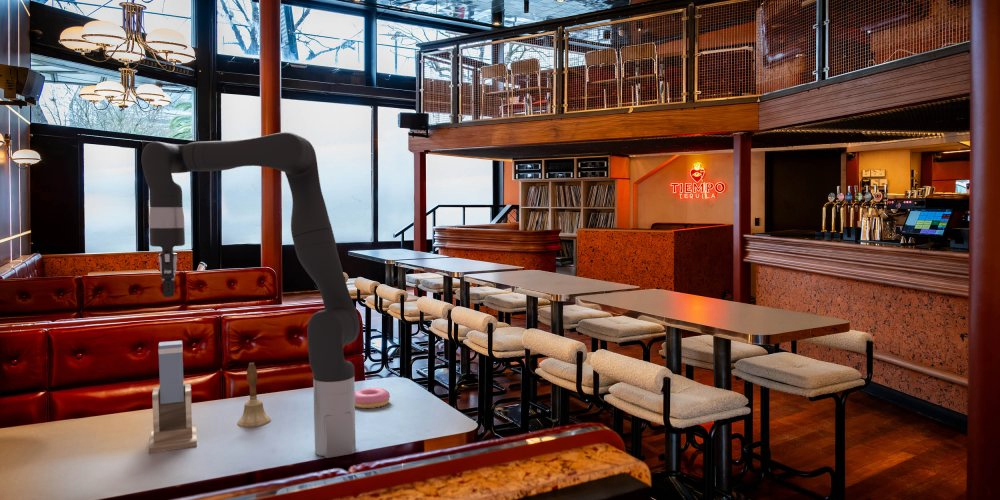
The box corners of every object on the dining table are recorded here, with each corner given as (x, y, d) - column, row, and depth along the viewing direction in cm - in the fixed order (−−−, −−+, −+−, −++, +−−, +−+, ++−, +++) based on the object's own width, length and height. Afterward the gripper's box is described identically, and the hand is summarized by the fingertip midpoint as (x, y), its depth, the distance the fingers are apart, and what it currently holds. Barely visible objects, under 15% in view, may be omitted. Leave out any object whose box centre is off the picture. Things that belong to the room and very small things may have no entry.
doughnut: (364, 412, 178) (364, 398, 178) (344, 404, 186) (344, 390, 186) (397, 404, 185) (397, 390, 185) (377, 397, 193) (377, 383, 193)
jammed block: (184, 401, 155) (182, 344, 154) (160, 404, 152) (158, 346, 152) (184, 396, 159) (182, 340, 158) (161, 398, 157) (159, 342, 156)
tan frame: (196, 445, 152) (195, 393, 152) (149, 453, 148) (147, 399, 147) (195, 428, 165) (194, 380, 164) (151, 434, 160) (150, 385, 160)
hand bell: (248, 429, 164) (246, 367, 163) (231, 423, 169) (229, 363, 168) (277, 421, 171) (275, 362, 170) (259, 415, 176) (258, 358, 175)
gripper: (184, 226, 149) (186, 297, 150) (184, 225, 162) (186, 291, 163) (147, 226, 146) (150, 299, 146) (150, 226, 158) (153, 292, 159)
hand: (169, 294), depth 155 cm, fingers open, 6 cm apart
